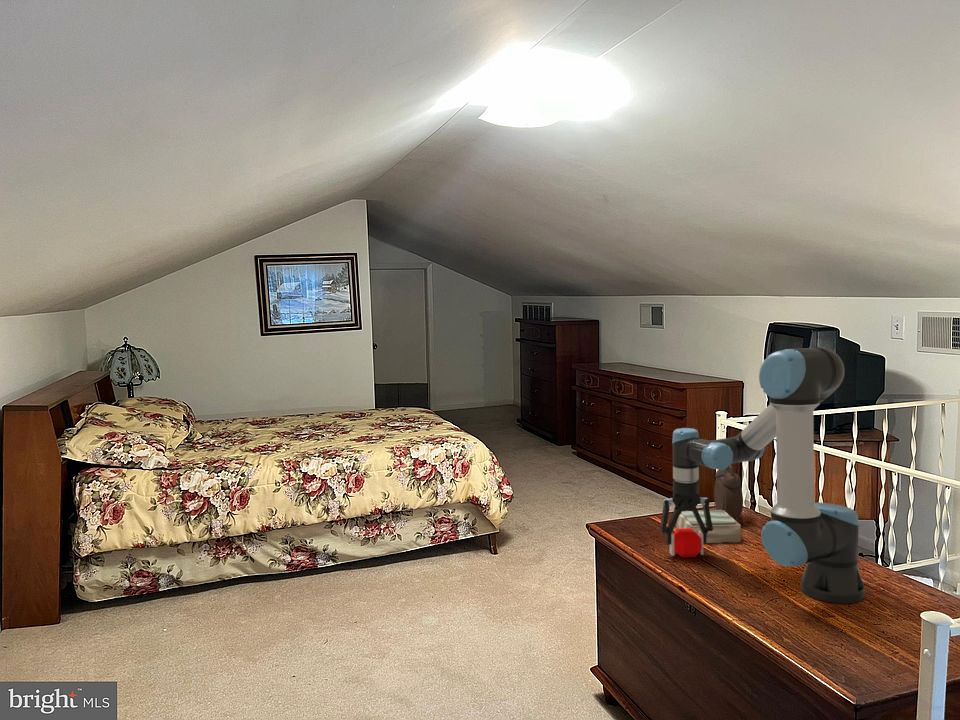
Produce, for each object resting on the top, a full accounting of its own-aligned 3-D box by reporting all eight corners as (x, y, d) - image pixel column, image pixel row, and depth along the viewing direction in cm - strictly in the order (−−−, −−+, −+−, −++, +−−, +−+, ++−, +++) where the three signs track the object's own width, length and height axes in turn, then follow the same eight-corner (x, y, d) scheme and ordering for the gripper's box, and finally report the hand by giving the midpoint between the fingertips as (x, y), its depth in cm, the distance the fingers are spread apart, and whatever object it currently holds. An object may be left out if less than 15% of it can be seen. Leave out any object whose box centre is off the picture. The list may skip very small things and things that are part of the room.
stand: (740, 542, 234) (740, 523, 233) (689, 543, 234) (689, 525, 233) (723, 526, 250) (723, 508, 249) (676, 527, 250) (676, 510, 249)
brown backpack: (746, 526, 249) (746, 467, 247) (724, 526, 249) (724, 468, 248) (732, 513, 264) (732, 458, 262) (712, 513, 264) (712, 458, 262)
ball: (696, 550, 227) (695, 525, 227) (703, 559, 219) (703, 534, 219) (670, 551, 227) (669, 526, 227) (676, 560, 219) (676, 534, 219)
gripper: (716, 475, 225) (716, 548, 227) (648, 478, 225) (649, 550, 227) (724, 482, 218) (725, 557, 220) (653, 484, 218) (654, 559, 220)
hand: (686, 553), depth 224 cm, fingers closed on ball, 8 cm apart
